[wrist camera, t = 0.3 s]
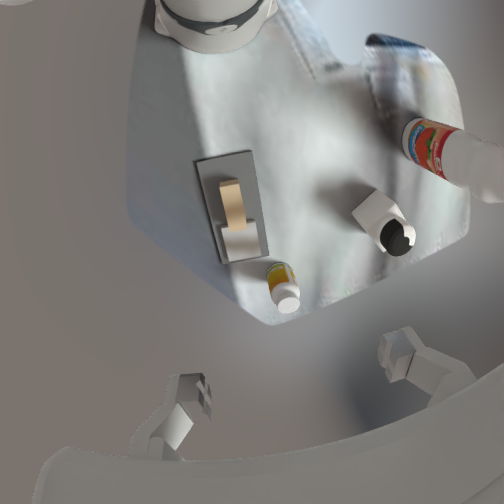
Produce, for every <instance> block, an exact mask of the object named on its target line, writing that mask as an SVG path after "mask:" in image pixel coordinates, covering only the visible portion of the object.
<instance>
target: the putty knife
mask: <svg viewBox="0 0 504 504" xmlns="http://www.w3.org/2000/svg"><path fill="white" fill-rule="evenodd" d="M220 192H221V196H222V201H223V205H224V209H225V214H226V218H227V222H228V225H224V226H221V231H222V235H223V239H224V243H225V247H226V250H227V254H228V258H229V262H231V261H236V260H241V259H247V258H252V257H257V256H261V251H260V245H259V239H258V234H257V228H256V222H255V220H250V221H246V217H245V212H244V206H243V201H242V196H241V191H240V186H239V181H238V178H236V179H231V180H226V181H221V182H220Z"/></svg>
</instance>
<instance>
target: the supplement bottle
mask: <svg viewBox="0 0 504 504" xmlns="http://www.w3.org/2000/svg"><path fill="white" fill-rule="evenodd" d="M267 281H268V285H269V290H270V294H271V298H272V301H273V302H274V303H275V304H276V305H277V308H278V310H279V311H280V312H282V313H292V312H294V311H296V310H297V309H298V307H299V305H300V302H299V296H300V290H299V287H298V284H297V281H296V278H295V276H294V273H293V270H292V268H291V267H290V266H289V265H288V264H286V263H277V264H274V265H272V266H271V267H270V268H269V269H268V271H267Z"/></svg>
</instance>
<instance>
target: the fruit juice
mask: <svg viewBox="0 0 504 504" xmlns="http://www.w3.org/2000/svg"><path fill="white" fill-rule="evenodd" d="M402 145H403V149H404V152H405V154H406V156H407V157H408V158H409V159H410V160H411V161H412V162H414V163H415V164H417V165H419V166H421V167H423V168H425V169H427V170H429V171H431V172H433V173H434V174H436V175H438V176H440V177H442V178H443V179H445V180H447V181H449V182H450V183H452V184H453V185H455V186H457V187H459V188H462V189H465V190H470V191H471V192H472V194H473V195H474V196H475V197H477V198H478V199H479V200H481V201H483V202H486V203H496V202H497V203H498V202H499V203H504V149H503V148H502V147H501V146H500V145H498V144H496V143H494V142H490V141H482V140H481V139H480V138H479V137H477V136H476V135H474V134H472V133H470V132H467V131H465V130H462V129H458V128H455V127H452V126H449V125H446V124H443V123H439V122H436V121H432V120H428V119H424V118H417V119H414V120H412V121H411V122H409V123H408V124H407V126H406V127H405V129H404V132H403V136H402Z"/></svg>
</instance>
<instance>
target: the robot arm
mask: <svg viewBox="0 0 504 504" xmlns="http://www.w3.org/2000/svg"><path fill="white" fill-rule="evenodd" d="M31 1H33V0H0V5H10V6H15V5H22V4H25V3H28V2H31ZM155 5H156V15H155V30H156V32H157V33H159V34H161V35H164V36H168V37H172V38H174V39H176V40H177V41H178V42H179V43H181V44H182V45H183V46H185V47H186V48H188V49H190V50H193V51H196V52H199V53H205V54H220V53H226V52H230V51H233V50H236V49H238V48H240V47H242V46H244V45H245V44H247V43H248V42H249V41H251V40H252V39H253V38H254V37H255V36H256V34H257V33H258V32H259V30H260V28H261V26H262V24H263V23H264V22H265V20H267V19H269V18H270V17H271V16H273V15H274V14H275V13H276V12H277V10H278V5H277V3H276V1H275V0H155ZM380 343H381V345H380V346H379V348H378V359H379V362H380V364H381V366H383V367H384V368H386V371H385V374H386V376H387V378H388V379H389V381H390V383H391V382H394V381H398V380H400V379H403V378H406V379H407V380H409V381H410V382H412V383H413V384H415V385H416V386H418V387H419V388H421V389H423V390H424V391H426V392H427V393H429V394H430V395H432V398H431V399H430V401H429V403H428V405H427V407H428V408H426V409H424V410H422V411H420V412H418V413H415V414H413V415H411V416H409V417H406V418H404V419H401V420H399V421H396V422H394V423H391V424H388V425H386V426H383V427H381V428H378V429H375V430H372V431H369V432H366V433H363V434H360V435H357V436H353V437H350V438H347V439H343V440H340V441H336V442H333V443H329V444H325V445H320V446H316V447H312V448H307V449H303V450H297V451H292V452H287V453H281V454H275V455H268V456H260V457H252V458H242V459H230V460H212V461H185V459H184V458H183V457H182V456H181V455H180V454H178V453H177V452H176V449H177V448H178V446H179V445H180V443H181V442H182V440H183V439H184V437H185V435H186V434H187V433H188V431H189V430H190V428H191V427H192V425H193V423H196V422H209V421H211V408H210V406H209V404H210V403H211V399H212V398H211V397H212V396H211V390H210V387H209V384H208V383H207V382H205V376H204V374H203V373H193V374H179V375H170V377H169V379H168V385H167V391H166V397H165V403H161V405H160V406H159V407H158V408H157V409H156V410H155V411H154V412H153V413H152V414H151V415H150V417H149V418H148V419H147V420H146V421H145V422H144V423H143V424H142V425H141V426H140V427H139V428H138V429H137V430H136V431H135V432H134V433H133V435H132V438H131V443H130V448H129V454H128V457H122V456H115V455H109V454H103V453H97V452H91V451H87V450H82V449H78V448H73V447H64V448H63V449H61V450H59V451H58V452H56V453H55V454H54V455H53V456H52V457H50V458H49V459H48V460H47V461H46V462H45V463H44V465H43V467H42V469H41V471H40V474H39V477H38V480H37V483H36V487H35V491H34V495H33V499H32V503H31V504H504V363H503V364H501V365H500V366H498V367H497V368H495V369H494V370H493V371H491V372H490V373H488V374H487V375H485V376H484V377H482V378H480V379H479V380H476V378H475V376H474V375H473V374H472V372H471V371H470V369H469V368H468V367H467V365H466V364H465V363H463V362H461V361H458V360H457V359H454V358H452V357H450V356H447V355H445V354H443V353H441V352H438V351H436V350H434V349H432V348H429V347H428V348H426V347H425V346H424V344H423V343H422V342H421V340H420V339H419V337H418V336H417V335H416V333H415V332H414V331H413V329H412V328H411V327H409V326H408V327H405V328H402V329H400V330H396V331H393V332H390V333H387V334H384V335H382V336H381V337H380Z"/></svg>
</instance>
